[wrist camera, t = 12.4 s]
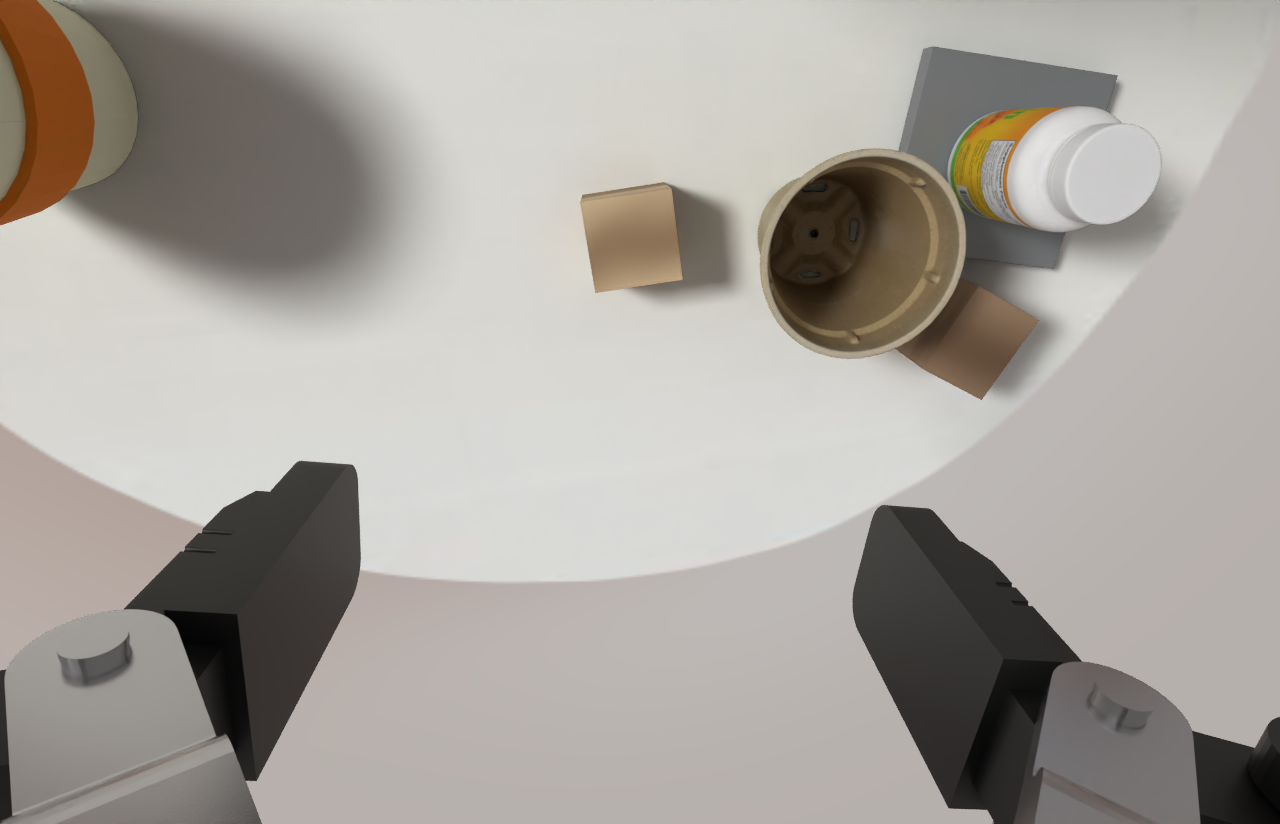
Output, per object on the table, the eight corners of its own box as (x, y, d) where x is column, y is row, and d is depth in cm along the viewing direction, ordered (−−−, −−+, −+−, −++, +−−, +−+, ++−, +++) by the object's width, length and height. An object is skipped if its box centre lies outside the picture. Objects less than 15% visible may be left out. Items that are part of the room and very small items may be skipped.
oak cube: (582, 194, 39) (580, 202, 35) (664, 182, 39) (671, 188, 35) (596, 276, 41) (595, 293, 37) (674, 264, 41) (682, 279, 37)
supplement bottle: (1055, 111, 38) (1198, 105, 28) (1031, 217, 39) (1158, 243, 30) (954, 108, 37) (1067, 100, 28) (935, 215, 39) (1035, 240, 30)
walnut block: (936, 268, 42) (979, 285, 37) (991, 299, 42) (1038, 320, 38) (888, 343, 43) (922, 368, 38) (941, 371, 44) (981, 399, 39)
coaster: (923, 49, 37) (933, 46, 36) (1102, 77, 38) (1117, 75, 37) (875, 243, 41) (883, 246, 40) (1041, 264, 42) (1053, 268, 41)
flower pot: (916, 269, 42) (992, 303, 33) (768, 342, 43) (807, 391, 35) (861, 112, 38) (930, 107, 30) (701, 195, 39) (727, 212, 31)
